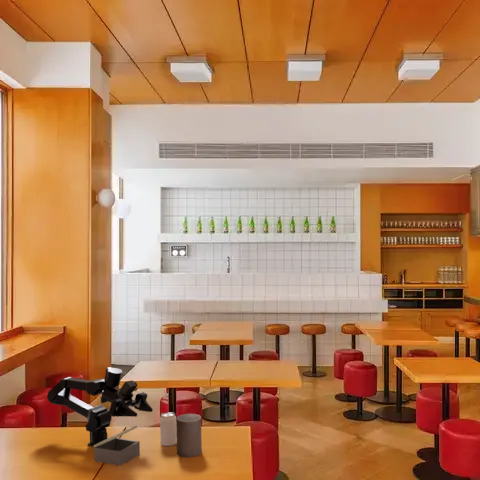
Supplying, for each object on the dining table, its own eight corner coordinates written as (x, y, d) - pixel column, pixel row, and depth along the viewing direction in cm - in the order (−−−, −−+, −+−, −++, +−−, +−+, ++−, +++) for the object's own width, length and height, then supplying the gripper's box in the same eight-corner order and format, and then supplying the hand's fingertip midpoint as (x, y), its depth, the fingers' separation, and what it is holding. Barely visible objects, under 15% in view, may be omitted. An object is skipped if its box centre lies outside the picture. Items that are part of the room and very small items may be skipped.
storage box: (94, 461, 216) (94, 447, 216) (115, 450, 227) (114, 437, 227) (120, 465, 211) (119, 452, 211) (139, 454, 222) (139, 441, 222)
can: (174, 447, 229) (173, 417, 229) (158, 446, 230) (157, 416, 230) (178, 441, 235) (178, 412, 235) (163, 440, 236) (163, 411, 236)
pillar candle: (171, 453, 222) (170, 414, 222) (190, 446, 229) (189, 408, 229) (188, 459, 215) (187, 420, 215) (207, 452, 222) (206, 413, 222)
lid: (94, 447, 216) (93, 445, 216) (114, 437, 227) (114, 434, 227) (117, 437, 211) (116, 435, 212) (137, 427, 222) (136, 425, 222)
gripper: (104, 381, 221) (134, 397, 213) (135, 374, 237) (164, 389, 229) (97, 408, 222) (126, 425, 214) (129, 399, 238) (157, 415, 230)
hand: (144, 412), depth 222 cm, fingers open, 9 cm apart
